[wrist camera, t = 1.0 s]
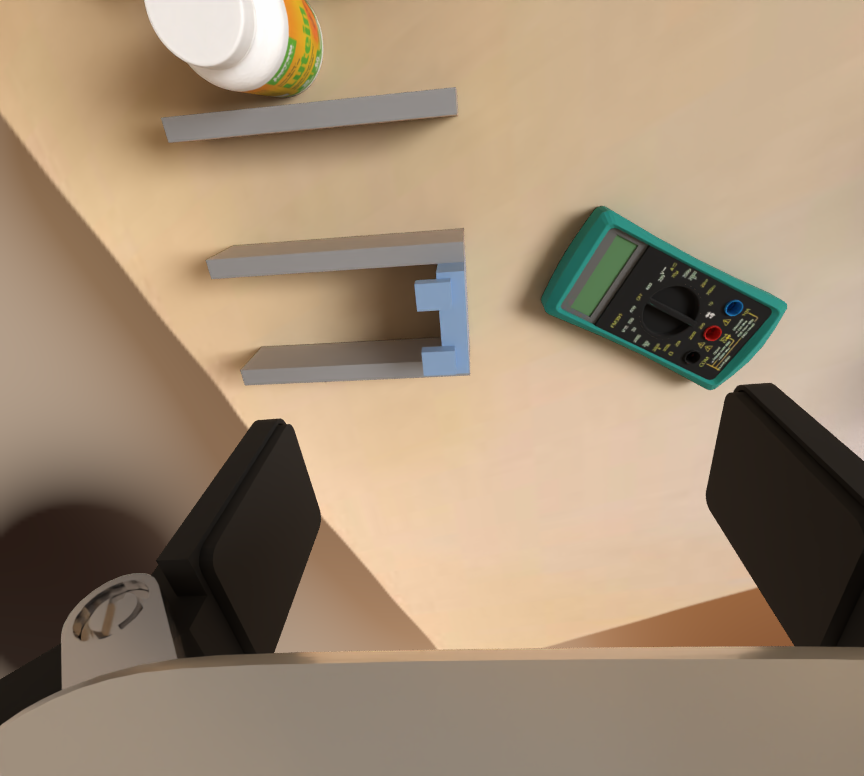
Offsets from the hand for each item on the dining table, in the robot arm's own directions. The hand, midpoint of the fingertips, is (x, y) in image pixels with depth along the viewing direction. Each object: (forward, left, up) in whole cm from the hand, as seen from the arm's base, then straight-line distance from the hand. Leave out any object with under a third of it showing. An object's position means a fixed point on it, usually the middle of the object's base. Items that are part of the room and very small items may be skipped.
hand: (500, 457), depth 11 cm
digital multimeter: (+5, +12, -25) cm, 28 cm away
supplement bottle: (-11, -11, -24) cm, 29 cm away
